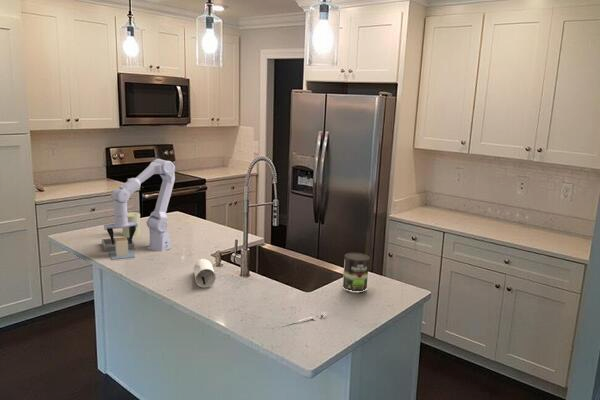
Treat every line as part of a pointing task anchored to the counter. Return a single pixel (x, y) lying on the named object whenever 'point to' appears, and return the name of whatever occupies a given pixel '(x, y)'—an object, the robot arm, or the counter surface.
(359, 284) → the coffee can
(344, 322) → the counter surface
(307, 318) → the fork
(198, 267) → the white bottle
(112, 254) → the mat
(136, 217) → the can
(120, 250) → the block
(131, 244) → the gray square tray
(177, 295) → the counter surface
